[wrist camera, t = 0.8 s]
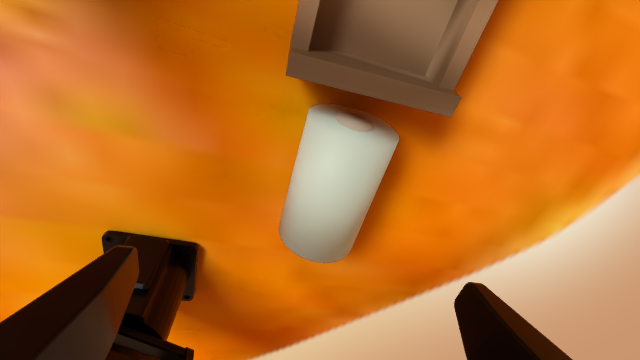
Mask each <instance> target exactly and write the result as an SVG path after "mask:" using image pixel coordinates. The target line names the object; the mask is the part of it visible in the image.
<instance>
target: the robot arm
mask: <svg viewBox="0 0 640 360" xmlns="http://www.w3.org/2000/svg"><path fill="white" fill-rule="evenodd" d="M110 237H111V238H110ZM102 244H103V251H104V254H103V255H101V256H100V257H98V258H97V259H95V260H94V261H92V262H91V263H89V264H88V265H86V266H85V267H83V268H82V269H80V270H79V271H77V272H76V273H74V274H73V275H71V276H70V277H68V278H67V279H65V280H64V281H62V282H61V283H59V284H58V285H56V286H55V287H53V288H52V289H50V290H49V291H47V292H46V293H44V294H43V295H41V296H40V297H38V298H37V299H35V300H34V301H32V302H31V303H29V304H28V305H26V306H25V307H23V308H21V309H20V310H18V311H17V312H15V313H14V314H12V315H11V316H9V317H8V318H6V319H5V320H3V321H2V322H0V360H193V357H194V350H193V349H190V348H188V347H186V348H183V347H181V346H178V345H176V344H173V343H170V342H168V341H167V338H168V336H169V333H170V330H171V327H172V324H173V322H174V319H175V316H176V313H177V311H178V308H179V305H180V302H181V300H183V301H190V300H192V299H193V296H194V292H195V280H196V268H197V257H198V246H197V245H196V244H195V243H192V242H186V241H179V240H172V239H165V238H158V237H151V236H144V235H138V234H131V233H124V232H117V231H106V232H105V234H104V235H103V236H102ZM191 249H192V250H191ZM454 308H455V312H456V316H457V320H458V325H459V329H460V333H461V337H462V341H463V345H464V350H465V353H466V357H467V360H572V359H571V358H570V357H569V356H568V355H566V354H565V353H564V352H563V351H562V350H561V349H559V348H558V347H557V346H556V345H554V344H553V343H552V342H551V341H550V340H549V339H547V338H546V337H545V336H544V335H543V334H542V333H540V332H539V331H538V330H537V329H535V328H534V327H533V326H532V325H531V324H530V323H528V322H527V321H526V320H525V319H524V318H522V317H521V316H520V315H519V314H518V313H516V312H515V311H514V310H513V309H512V308H511V307H510V306H508V305H507V304H506V303H505V302H503V301H502V300H501V299H500V298H499V297H498V296H496V295H495V294H494V293H493V292H492V291H491V290H489V289H488V288H487V287H486V286H485V285H483V284H481V283H473V282H468V283H467V284H466V285H465V286H464V287H463V289H462V290H461V292H460V293H459V295H458V296H457V297H456V299H455V303H454Z"/></svg>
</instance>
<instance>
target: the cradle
mask: <svg viewBox="0 0 640 360" xmlns="http://www.w3.org/2000/svg"><path fill="white" fill-rule="evenodd" d="M497 2H498V0H299V3H298V8H297V13H296V18H295V23H294V28H293V33H292V38H291V45H290V51H289V56H288V64H287V72H286V76H290V77H294V78H298V79H302V80H306V81H310V82H314V83H317V84H321V85H325V86H329V87H333V88H337V89H341V90H345V91H349V92H353V93H357V94H361V95H365V96H369V97H373V98H377V99H381V100H385V101H389V102H393V103H397V104H400V105H404V106H408V107H412V108H416V109H420V110H424V111H428V112H432V113H436V114H440V115H444V116H448V117H452V115H453V113H454V111H455V109H456V107H457V105H458V103H459V101H460V99H461V97H460V96H459V95H458V94H456V93H455V92H454V89H455V87H456V85H457V83H458V81H459V79H460V77H461V75H462V73H463V71H464V69H465V67H466V65H467V63H468V61H469V59H470V57H471V55H472V53H473V51H474V49H475V47H476V45H477V42H478V40H479V38H480V36H481V34H482V32H483V30H484V28H485V26H486V24H487V22H488V20H489V18H490V16H491V14H492V12H493V10H494V8H495V6H496V4H497Z"/></svg>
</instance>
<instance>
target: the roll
mask: <svg viewBox="0 0 640 360" xmlns="http://www.w3.org/2000/svg"><path fill="white" fill-rule="evenodd" d="M398 142H399V135H398V133H397V132H396V131H395V130H394V129H393V128H392V127H391V126H390V125H389V124H387V123H386V122H384V121H383V120H381V119H379V118H377V117H375V116H373V115H371V114H369V113H366V112H364V111H361V110H358V109H354V108H350V107H346V106H342V105H337V104H317V105H314V106H312V107H311V108H310V109H309V111H308V115H307V119H306V123H305V126H304V130H303V134H302V138H301V142H300V146H299V150H298V154H297V157H296V161H295V165H294V169H293V173H292V177H291V181H290V185H289V188H288V192H287V196H286V200H285V204H284V208H283V212H282V216H281V219H280V223H279V234H280V237H281V239H282V241H283V243H284V244H285V245H286V246H287V247H288V248H289V249H290V250H291V251H292V252H294V253H295V254H297V255H298V256H300V257H302V258H304V259H307V260H310V261H314V262H320V263H330V262H336V261H339V260H341V259H343V258H344V257H346V256H347V255H348V254H349V252H350V251H351V248H352V246H353V244H354V242H355V239H356V237H357V235H358V233H359V230H360V228H361V226H362V223H363V221H364V219H365V217H366V214H367V212H368V210H369V208H370V205H371V203H372V201H373V199H374V196H375V194H376V192H377V189H378V187H379V185H380V183H381V180H382V178H383V176H384V174H385V171H386V169H387V167H388V164H389V162H390V160H391V158H392V155H393V153H394V151H395V149H396V146H397V144H398Z"/></svg>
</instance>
